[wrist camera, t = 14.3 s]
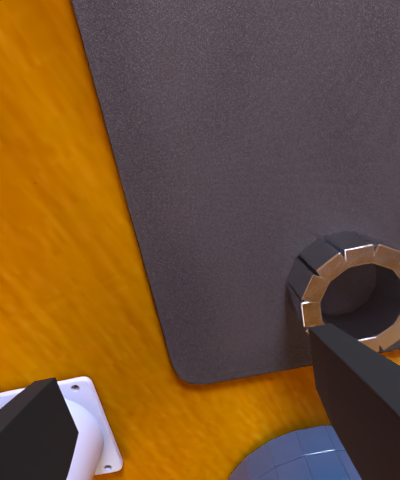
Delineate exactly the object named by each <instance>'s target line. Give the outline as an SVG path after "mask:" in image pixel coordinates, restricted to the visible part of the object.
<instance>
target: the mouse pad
mask: <svg viewBox="0 0 400 480" xmlns="http://www.w3.org/2000/svg"><path fill="white" fill-rule="evenodd" d="M71 1H72V5H73V8H74V12H75V15H76V19H77V23H78V26H79V30H80V34H81V37H82V41H83V45H84V48H85V52H86V55H87V59H88V63H89V66H90V70H91V74H92V77H93V81H94V84H95V88H96V92H97V95H98V99H99V103H100V106H101V110H102V114H103V117H104V121H105V124H106V128H107V132H108V135H109V139H110V143H111V146H112V150H113V154H114V157H115V161H116V164H117V168H118V172H119V175H120V179H121V183H122V186H123V190H124V193H125V197H126V201H127V204H128V208H129V212H130V215H131V219H132V222H133V226H134V230H135V233H136V237H137V240H138V244H139V248H140V251H141V255H142V258H143V262H144V266H145V269H146V273H147V276H148V280H149V283H150V287H151V291H152V294H153V298H154V301H155V305H156V309H157V312H158V316H159V319H160V323H161V327H162V330H163V334H164V337H165V341H166V345H167V348H168V352H169V355H170V359H171V363H172V365H173V368H174V370H175V372H176V373H177V375H178V376H179V377H180V378H181V379H182V380H184V381H185V382H188V383H191V384H210V383H216V382H221V381H227V380H233V379H238V378H244V377H249V376H255V375H260V374H266V373H271V372H277V371H282V370H288V369H294V368H299V367H305V366H310V365H313V362H312V354H311V346H310V339H309V335H308V334H307V332H306V331H305V330H304V328H303V326H302V325H301V323H300V322H299V320H298V318H297V317H296V315H295V313H294V312H293V310H292V309H291V306H290V304H289V301H288V294H287V287H286V283H287V282H288V280H287V276H288V274H289V272H290V270H291V267H292V265H293V263H294V260H295V258H296V257H298V258H301V256H300V255H299V253H300V252H301V251H303V250H304V249H305V248H306V247H308V246H309V245H310V244H311V243H313V242H314V241H315V240H316V239H318V238H320V239H321V240H323V236H324V235H329V234H333V233H338V232H343V231H349V232H352V231H356V232H359V233H362V234H365V235H368V236H371V237H374V238H376V239H378V240H380V241H383V242H385V243H387V244H389V245H391V246H393V247H395V248H397V249H399V250H400V0H71ZM301 259H302V258H301ZM375 286H376V267H375V265H374V264H373V263H369V264H365V265H360V266H355V267H350V268H348V269H347V270H345V271H344V272H343V273H341V274H340V275H339V276H337V277H336V278H335V279H333V280H332V281H331V282H330V283H329V285H328V287H327V289H326V292H325V294H324V296H323V298H322V300H321V302H320V305H321V312H322V313H325V314H329V315H332V316H335V315H340V314H345V313H350V312H353V311H354V310H356V309H357V308H358V307H360V306H361V305H362V304H364V303H365V302H367V301H368V299H369V297H370V295H371V294H372V292H373V290H374V288H375ZM398 349H400V340H398V341H397V342H395V343H394V344H392V345H391V346H389V347H388V348H386V349H385V350H383V349H382V348H381V347H380V346H379V352H377V353H382V352H387V351H393V350H398Z"/></svg>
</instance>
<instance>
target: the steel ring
mask: <svg viewBox="0 0 400 480" xmlns="http://www.w3.org/2000/svg"><path fill="white" fill-rule="evenodd" d="M299 255H300V256H301V258H302V259H301V258H298V257H296V258H295V260H294V263H293V265H292V267H291V270H290V272H289V274H288V276H287V280H288V282H287V283H286V287H287V294H288V301H289V304H290V306H291V309H292V310H293V312H294V313H295V315H296V317H297V318H298V320H299V322H300V323H301V325H302V326H303V328H304V330H305V331H306V332H307V334H308V335H309V331H308V328H309V327H314V326H319V325H324V324H329V323H331V324H333V325H334V326H336V327H338V328H339V329H341V330H342V331H344V332H345V333H347V334H349V335H350V336H352V337H353V338H355V339H357V340H358V341H360V342H361V343H363V344H364V345H366V346H368V347H369V348H371V349H372V350H374V351H376V352H379V346H380V347H381V348H382V349H383V350H385V349H386V348H388V347H389V346H391V345H392V344H394V343H395V342H397V341H398V340H400V250H399V249H397V248H395V247H393V246H391V245H389V244H387V243H385V242H383V241H380V240H378V239H376V238H374V237H371V236H368V235H365V234H362V233H359V232H356V231H352V232H349V231H343V232H338V233H333V234H329V235H324V236H323V240H321V239H320V238H318V239H316V240H315V241H314V242H313V243H311V244H310V245H309V246H308V247H306V248H305V249H304V250H303V251H301V252H300V253H299ZM369 263H373V264H374V265H375V267H376V286H375V288H374V290H373V292H372V294H371V295H370V297H369V299H368V301H367V302H365V303H364V304H362V305H361V306H360V307H358V308H357V309H356V310H354V311H353V312H350V313H345V314H340V315H335V316H332V315H329V314H325V313H322V312H321V305H320V302H321V300H322V298H323V296H324V294H325V292H326V289H327V287H328V285H329V283H330V282H331V281H332V280H333V279H335V278H336V277H337V276H339V275H340V274H341V273H343V272H344V271H345V270H347V269H348V268H350V267H355V266H360V265H365V264H369Z"/></svg>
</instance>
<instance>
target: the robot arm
mask: <svg viewBox="0 0 400 480" xmlns="http://www.w3.org/2000/svg"><path fill="white" fill-rule="evenodd" d="M308 331H309V339H310V346H311V354H312V362H313V370H314V377H315V385H316V389H317V392H318V394H319V396H320V399H321V401H322V404H323V406H324V408H325V411H326V413H327V415H328V418H329V420H330V422H331V424H332V427H333V428H334V430H335V432H336V434H337V436H338V438H339V439H340V441H341V443H342V445H343V447H344V449H345V450H346V452H347V454H348V456H349V458H350V459H351V461H352V463H353V465H354V467H355V468H356V470H357V472H358V474H359V476H360V477H361V479H362V480H400V366H399V365H397V364H396V363H394V362H392V361H391V360H389V359H387V358H386V357H384V356H382V355H381V354H379V353H377V352H376V351H374V350H372V349H371V348H369V347H368V346H366V345H364V344H363V343H361V342H360V341H358V340H357V339H355V338H353V337H352V336H350V335H349V334H347V333H345V332H344V331H342V330H341V329H339V328H338V327H336V326H334V325H333V324H331V323H329V324H324V325H319V326H314V327H309V328H308ZM74 385H77V386H78V387H76V386H74ZM122 466H123V459H122V457H121V454H120V452H119V449H118V446H117V444H116V441H115V439H114V436H113V434H112V431H111V428H110V426H109V423H108V421H107V418H106V416H105V413H104V411H103V408H102V405H101V403H100V400H99V398H98V395H97V393H96V390H95V387H94V385H93V382H92V380H91V379H90V378H88V377H78V378H73V379H68V380H63V381H56V378H50V379H45V380H40V381H35V382H33V383H32V384H31V385H29V386H28V387H26V388H22V389H17V390H12V391H7V392H2V393H0V480H93V478H94V475H99V474H105V473H110V472H116V471H119V470H121V469H122Z"/></svg>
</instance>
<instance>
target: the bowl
mask: <svg viewBox="0 0 400 480" xmlns="http://www.w3.org/2000/svg"><path fill="white" fill-rule="evenodd" d="M228 480H362V479H361V477H360V476H359V474H358V472H357V470H356V468H355V467H354V465H353V463H352V461H351V459H350V458H349V456H348V454H347V452H346V450H345V449H344V447H343V445H342V443H341V441H340V439H339V438H338V436H337V434H336V432H335V430H334V428H333V427H332V425H322V426H317V427H312V428H306V429H301V430H296V431H292V432H290V433H287V434H285V435H282V436H280V437H277V438H275V439H272V440H270V441H269V442H267V443H265V444H264V445H262V446H261V447H259V448H258V449H256V450H255V451H253V452H252V453H250V454H249V455H247V457H245V458H244V460H243V461H242V462H241V463H240V464H239V465H238V466H237V467H236V468H235V470H234V471H233V472H232V473H231V474H230V476H229V478H228Z"/></svg>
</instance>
